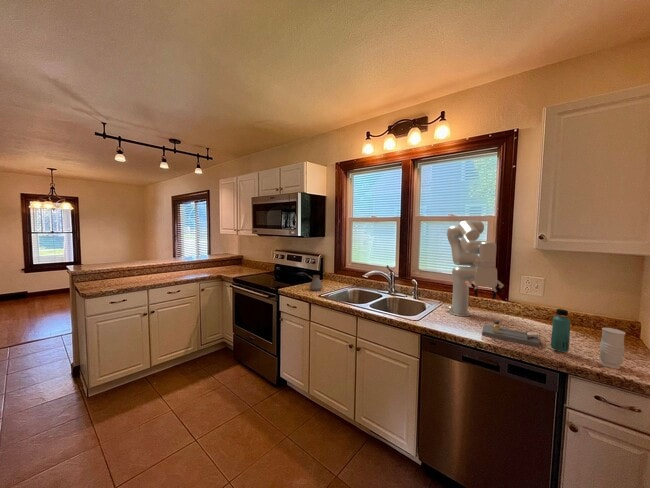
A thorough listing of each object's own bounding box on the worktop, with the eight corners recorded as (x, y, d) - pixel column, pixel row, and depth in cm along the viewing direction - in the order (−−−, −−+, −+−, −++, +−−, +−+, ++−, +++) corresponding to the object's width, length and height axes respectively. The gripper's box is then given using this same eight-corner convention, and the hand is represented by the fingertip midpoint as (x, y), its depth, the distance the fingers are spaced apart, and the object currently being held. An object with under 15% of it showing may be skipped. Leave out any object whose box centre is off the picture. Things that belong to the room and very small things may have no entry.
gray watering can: (324, 289, 236) (325, 273, 235) (318, 292, 226) (318, 275, 225) (304, 286, 246) (304, 270, 245) (297, 289, 236) (297, 272, 235)
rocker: (527, 336, 134) (527, 334, 134) (527, 334, 137) (526, 332, 137) (538, 336, 131) (538, 334, 131) (537, 334, 134) (537, 332, 134)
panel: (482, 335, 141) (482, 329, 141) (483, 327, 152) (484, 322, 151) (539, 347, 127) (540, 340, 127) (537, 338, 138) (537, 332, 138)
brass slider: (492, 332, 140) (493, 324, 139) (493, 330, 142) (493, 323, 141) (498, 333, 138) (499, 325, 138) (498, 331, 140) (499, 324, 140)
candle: (623, 371, 107) (626, 335, 106) (598, 364, 112) (601, 330, 111) (622, 365, 112) (625, 331, 111) (598, 359, 117) (601, 326, 116)
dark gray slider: (493, 328, 145) (493, 321, 145) (493, 326, 147) (493, 319, 147) (499, 329, 144) (499, 322, 144) (499, 327, 146) (499, 320, 146)
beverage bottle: (562, 356, 119) (565, 312, 118) (546, 349, 125) (549, 308, 124) (572, 354, 121) (575, 311, 120) (556, 347, 127) (559, 307, 126)
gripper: (467, 264, 143) (465, 296, 144) (506, 267, 133) (504, 302, 134) (469, 262, 149) (467, 293, 150) (506, 265, 139) (504, 298, 140)
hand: (484, 297), depth 142 cm, fingers open, 7 cm apart
